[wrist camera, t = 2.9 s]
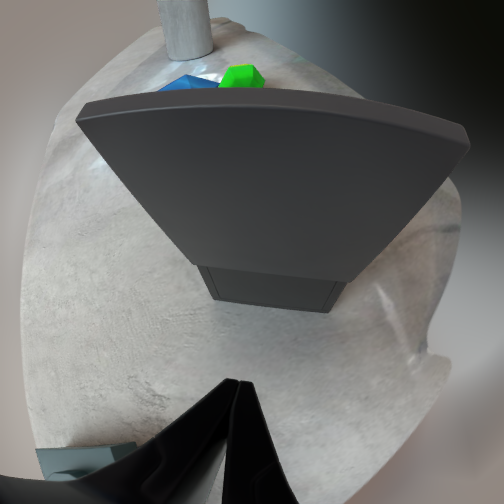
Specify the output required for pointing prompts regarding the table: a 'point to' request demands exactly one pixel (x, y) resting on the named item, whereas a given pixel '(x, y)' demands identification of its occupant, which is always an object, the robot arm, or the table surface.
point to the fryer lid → (275, 173)
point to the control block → (79, 460)
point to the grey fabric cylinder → (186, 28)
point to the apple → (242, 77)
